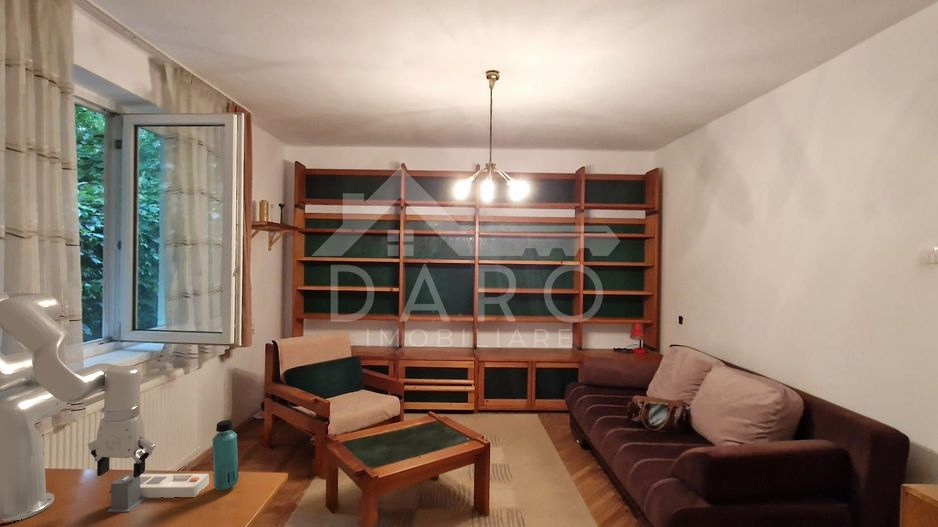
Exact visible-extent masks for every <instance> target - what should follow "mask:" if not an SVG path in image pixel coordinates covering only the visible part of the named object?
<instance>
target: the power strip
mask: <svg viewBox="0 0 938 527" xmlns="http://www.w3.org/2000/svg"><path fill="white" fill-rule="evenodd" d="M208 485H210V473H143V474H141V475H140V492H141V497H146V499H156V498H157V499H161V497H163V499H165V498H166V499H167V498H169V499H172V498H173V499H175V498H174V497H194V498H195V497H197V495H199V494H200V493H201V492H202V491H203V490H204V489H205V488H206V487H207V486H208ZM202 489H203V490H202ZM201 490H202V491H201ZM200 491H201V492H200ZM199 492H200V493H199Z"/></svg>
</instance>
